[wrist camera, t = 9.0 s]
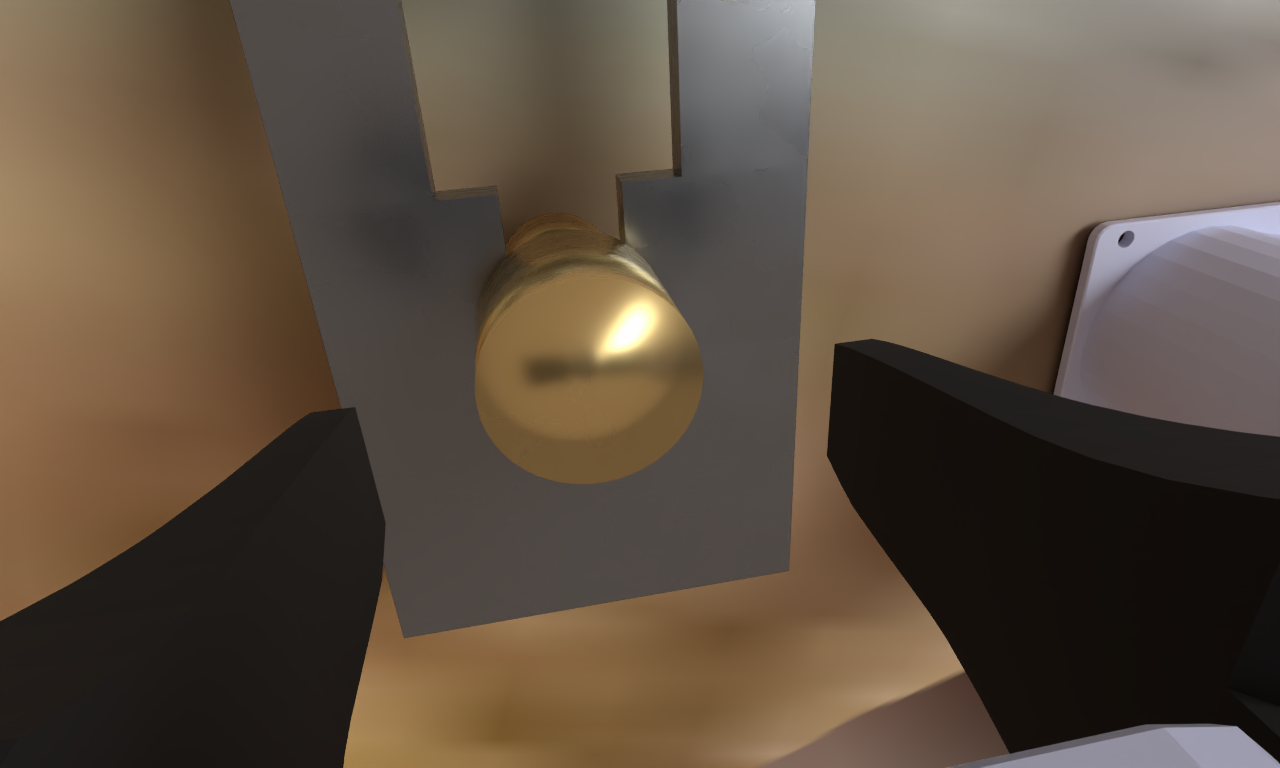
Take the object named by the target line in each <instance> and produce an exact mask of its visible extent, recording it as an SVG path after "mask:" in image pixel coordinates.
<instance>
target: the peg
mask: <svg viewBox="0 0 1280 768" xmlns="http://www.w3.org/2000/svg"><path fill="white" fill-rule="evenodd" d="M506 254H507V256H506V257H505V258H504V259H503V260H502V261H501V262H500V263H499V264H498V265H497V267H496V268H495V269H494V270H493V272H492V273H491V275H490V276H489V278H488V280H487V281H486V284H485V286H484V288H483V290H482V292H481V296H480V299H479V302H478V308H477V315H476V359H475V398H476V405H477V410H478V413H479V416H480V419H481V422H482V424H483V426H484V428H485V430H486V432H487V434H488V436H489V437H490V439H491V440H492V442H493V443H494V444H495V445H496V447H497V448H498V449H499V450H500V451H501V452H502V453H503V454H504V455H505V456H506V457H507V458H509V459H510V460H511V461H512V462H513V463H515V464H516V465H518V466H519V467H521V468H523V469H524V470H526V471H528V472H530V473H532V474H534V475H536V476H539V477H542V478H545V479H548V480H552V481H557V482H561V483H570V484H595V483H602V482H608V481H612V480H616V479H620V478H623V477H625V476H628V475H631V474H633V473H635V472H637V471H639V470H641V469H644V468H645V467H647V466H649V465H650V464H652V463H653V462H655V461H656V460H658V459H659V458H660V457H661V456H663V455H664V454H665V453H666V452H668V451H669V450H670V449H671V448H672V447H673V446H674V445H675V444H676V443H677V441H678V440H679V439H680V437H681V436H682V435H683V434H684V432H685V431H686V429H687V428H688V426H689V424H690V423H691V421H692V419H693V417H694V414H695V412H696V410H697V408H698V404H699V401H700V397H701V393H702V386H703V364H702V357H701V353H700V349H699V346H698V343H697V341H696V338H695V336H694V334H693V332H692V330H691V329H690V327H689V325H688V324H687V322H686V321H685V319H684V318H683V316H682V314H681V313H680V311H679V310H678V308H677V307H676V305H675V303H674V302H673V300H672V299H671V297H670V296H669V294H668V293H667V291H666V289H665V288H664V286H663V285H662V283H661V282H660V280H659V278H658V277H657V275H656V274H655V272H654V271H653V269H652V268H651V266H650V265H649V264H648V263H647V261H646V260H645V259H644V258H643V257H642V256H641V255H640V254H639V253H638V252H636V251H635V250H634V249H633V248H631V247H630V246H628V245H627V244H625V243H624V242H622V241H620V240H618V239H616V238H613V237H611V236H608V235H605V234H602V233H600V232H599V230H598V229H597V228H596V227H594V226H593V225H592V224H591V223H589V222H588V221H586V220H584V219H582V218H580V217H577V216H574V215H571V214H566V213H550V214H545V215H541V216H538V217H535V218H533V219H531V220H529V221H528V222H526V223H525V224H523V225H522V226H521V227H520V228H519V229H518V230H517V231H516V232H515V233H514V234H513V235H512V237H511V238H510V240H509V241H508V243H507V246H506Z"/></svg>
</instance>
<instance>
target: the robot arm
mask: <svg viewBox="0 0 1280 768" xmlns="http://www.w3.org/2000/svg"><path fill="white" fill-rule="evenodd" d="M1123 233H1124V237H1123V239H1122V240H1121V241H1120V242H1119V243H1118V240H1119V238H1120V236H1121V235H1122V234H1123ZM827 457H828V459H829V461H830V463H831V465H832V467H833V469H834V471H835V473H836V475H837V477H838V479H839V481H840V483H841V485H842V487H843V489H844V491H845V493H846V495H847V497H848V498H849V500H850V502H851V504H852V506H853V507H854V509H855V510H856V512H857V513H858V514H859V516H860V517H861V519H862V520H863V522H864V523H865V524H866V526H867V527H868V529H869V530H870V531H871V533H872V534H873V536H874V537H875V538H876V540H877V541H878V543H879V544H880V545H881V547H882V548H883V550H884V551H885V552H886V554H887V555H888V556H889V558H890V559H891V561H892V562H893V563H894V565H895V566H896V567H897V569H898V570H899V572H900V573H901V574H902V576H903V577H904V578H905V580H906V581H907V583H908V584H909V585H910V587H911V588H912V589H913V591H914V592H915V593H916V595H917V596H918V598H919V599H920V600H921V602H922V603H923V604H924V606H925V607H926V609H927V610H928V611H929V613H930V614H931V616H932V617H933V619H934V620H935V622H936V623H937V625H938V626H939V628H940V629H941V631H942V632H943V634H944V635H945V637H946V639H947V640H948V642H949V644H950V645H951V647H952V649H953V651H954V653H955V654H956V656H957V658H958V660H959V661H960V663H961V665H962V667H963V668H964V670H965V672H966V674H967V675H968V677H969V679H970V681H971V682H972V684H973V686H974V688H975V689H976V691H977V693H978V694H979V696H980V698H981V700H982V702H983V704H984V706H985V708H986V710H987V711H988V713H989V715H990V717H991V719H992V721H993V723H994V724H995V727H996V728H997V730H998V732H999V734H1000V736H1001V738H1002V740H1003V742H1004V744H1005V745H1006V747H1007V749H1008V751H1009V753H1010V754H1007V755H1002V756H998V757H993V758H989V759H984V760H979V761H975V762H970V763H965V764H961V765H956V766H952V767H948V768H1280V202H1272V203H1264V204H1255V205H1246V206H1238V207H1229V208H1220V209H1212V210H1203V211H1194V212H1185V213H1177V214H1168V215H1159V216H1151V217H1142V218H1133V219H1125V220H1116V221H1107V222H1104V223H1101V224H1099V225H1098V226H1097V227H1095V228H1094V230H1093V231H1092V232H1091V234H1090V236H1089V239H1088V242H1087V247H1086V251H1085V256H1084V260H1083V265H1082V269H1081V274H1080V278H1079V282H1078V287H1077V291H1076V296H1075V300H1074V305H1073V309H1072V314H1071V318H1070V323H1069V327H1068V332H1067V336H1066V340H1065V345H1064V349H1063V354H1062V358H1061V363H1060V367H1059V372H1058V376H1057V381H1056V385H1055V389H1054V394H1050V393H1047V392H1043V391H1040V390H1036V389H1033V388H1029V387H1026V386H1022V385H1019V384H1016V383H1013V382H1010V381H1007V380H1003V379H1000V378H997V377H994V376H991V375H988V374H985V373H982V372H979V371H976V370H973V369H970V368H967V367H964V366H961V365H958V364H955V363H953V362H950V361H947V360H944V359H941V358H938V357H935V356H932V355H929V354H926V353H923V352H920V351H917V350H914V349H910V348H907V347H904V346H901V345H897V344H893V343H890V342H885V341H881V340H875V339H868V340H861V341H853V342H845V343H838V344H835V348H834V362H833V377H832V391H831V406H830V420H829V434H828V449H827ZM385 527H386V522H385V518H384V514H383V511H382V507H381V503H380V499H379V495H378V492H377V488H376V484H375V480H374V476H373V473H372V469H371V465H370V461H369V457H368V453H367V450H366V446H365V442H364V438H363V434H362V431H361V427H360V423H359V419H358V415H357V412H356V408H355V407H351V408H343V409H336V410H328V411H321V412H313V413H310V414H308V415H306V416H305V417H303V418H302V419H300V420H299V421H298V422H296V423H295V424H294V425H292V426H291V427H290V428H288V429H287V430H286V431H285V432H283V433H282V434H281V435H280V436H278V437H277V438H276V439H275V440H273V441H272V442H271V443H270V444H269V445H267V446H266V447H265V448H264V449H262V450H261V451H260V452H259V453H258V454H256V455H255V456H254V457H253V458H251V459H250V460H249V461H248V462H246V463H245V464H244V465H243V466H241V467H240V468H239V469H238V470H237V471H235V472H234V473H233V474H232V475H230V476H229V477H228V478H227V479H225V480H224V481H223V482H222V483H220V484H219V485H218V486H216V487H215V488H214V489H212V490H211V491H210V492H208V493H207V494H206V495H204V496H203V497H202V498H200V499H199V500H197V501H196V502H195V503H193V504H192V505H191V506H189V507H188V508H187V509H185V510H184V511H183V512H181V513H180V514H179V515H177V516H176V517H174V518H173V519H172V520H170V521H169V522H168V523H166V524H165V525H164V526H162V527H161V528H159V529H158V530H156V531H155V532H153V533H152V534H151V535H149V536H148V537H146V538H145V539H143V540H142V541H140V542H139V543H137V544H135V545H134V546H132V547H131V548H129V549H128V550H126V551H125V552H123V553H121V554H120V555H118V556H117V557H115V558H113V559H112V560H110V561H108V562H107V563H105V564H103V565H102V566H100V567H99V568H97V569H95V570H94V571H92V572H90V573H89V574H87V575H85V576H84V577H82V578H80V579H79V580H77V581H75V582H73V583H72V584H70V585H68V586H66V587H64V588H63V589H61V590H59V591H57V592H55V593H53V594H51V595H49V596H47V597H46V598H44V599H42V600H40V601H38V602H36V603H34V604H32V605H30V606H29V607H27V608H25V609H23V610H21V611H19V612H17V613H15V614H14V615H12V616H10V617H8V618H6V619H4V620H2V621H0V768H343V764H344V756H345V749H346V744H347V738H348V732H349V727H350V721H351V716H352V712H353V708H354V703H355V699H356V694H357V690H358V686H359V681H360V677H361V672H362V668H363V664H364V659H365V655H366V650H367V646H368V642H369V637H370V633H371V628H372V624H373V619H374V615H375V610H376V606H377V601H378V596H379V592H380V587H381V582H382V570H383V559H384V544H385Z"/></svg>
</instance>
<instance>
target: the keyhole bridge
mask: <svg viewBox="0 0 1280 768" xmlns="http://www.w3.org/2000/svg"><path fill="white" fill-rule="evenodd" d="M230 4H231V7H232V11H233V15H234V18H235V22H236V26H237V29H238V33H239V37H240V40H241V44H242V48H243V51H244V55H245V59H246V62H247V66H248V70H249V73H250V77H251V80H252V84H253V88H254V91H255V95H256V99H257V102H258V106H259V110H260V113H261V117H262V121H263V124H264V128H265V132H266V135H267V139H268V143H269V146H270V150H271V154H272V157H273V161H274V165H275V168H276V172H277V176H278V179H279V183H280V187H281V190H282V194H283V198H284V201H285V205H286V209H287V212H288V216H289V219H290V223H291V227H292V230H293V234H294V238H295V241H296V245H297V249H298V252H299V256H300V260H301V263H302V267H303V271H304V274H305V278H306V282H307V285H308V289H309V293H310V296H311V300H312V304H313V307H314V311H315V315H316V318H317V322H318V326H319V329H320V333H321V337H322V340H323V344H324V347H325V351H326V355H327V358H328V362H329V366H330V369H331V373H332V377H333V380H334V384H335V388H336V391H337V395H338V399H339V402H340V406H341V409H343V408H351V407H355V408H356V412H357V415H358V419H359V423H360V427H361V431H362V434H363V438H364V442H365V446H366V450H367V453H368V457H369V461H370V465H371V469H372V473H373V476H374V480H375V484H376V488H377V492H378V495H379V499H380V503H381V507H382V511H383V514H384V518H385V522H386V527H385V544H384V559H383V563H384V567H385V571H386V574H387V578H388V582H389V585H390V589H391V593H392V596H393V600H394V604H395V607H396V611H397V615H398V618H399V622H400V625H401V629H402V633H403V636H404V638H408V637H414V636H419V635H425V634H431V633H437V632H442V631H448V630H454V629H459V628H465V627H471V626H477V625H482V624H488V623H494V622H499V621H505V620H511V619H517V618H522V617H528V616H534V615H539V614H545V613H551V612H556V611H562V610H568V609H574V608H579V607H585V606H591V605H596V604H602V603H608V602H614V601H619V600H625V599H631V598H636V597H642V596H648V595H654V594H659V593H665V592H671V591H676V590H682V589H688V588H693V587H699V586H705V585H711V584H716V583H722V582H728V581H733V580H739V579H745V578H751V577H756V576H762V575H768V574H773V573H779V572H785V571H789V559H790V538H791V516H792V494H793V473H794V451H795V429H796V407H797V386H798V364H799V342H800V321H801V299H802V277H803V256H804V234H805V212H806V191H807V169H808V147H809V126H810V104H811V82H812V60H813V39H814V17H815V0H667V12H668V41H669V70H670V98H671V127H672V156H673V169H666V170H655V171H645V172H634V173H624V174H616V189H617V203H618V218H619V232H620V241H622V242H624V243H625V244H627V245H628V246H630V247H631V248H633V249H634V250H635V251H636V252H638V253H639V254H640V255H641V256H642V257H643V258H644V259H645V260H646V261H647V263H648V264H649V265H650V266H651V268H652V269H653V271H654V272H655V274H656V275H657V277H658V278H659V280H660V282H661V283H662V285H663V286H664V288H665V289H666V291H667V293H668V294H669V296H670V297H671V299H672V300H673V302H674V303H675V305H676V307H677V308H678V310H679V311H680V313H681V314H682V316H683V318H684V319H685V321H686V322H687V324H688V325H689V327H690V329H691V330H692V332H693V334H694V336H695V338H696V341H697V343H698V346H699V349H700V353H701V357H702V364H703V386H702V393H701V397H700V401H699V404H698V408H697V410H696V412H695V414H694V417H693V419H692V421H691V423H690V424H689V426H688V428H687V429H686V431H685V432H684V434H683V435H682V436H681V437H680V439H679V440H678V441H677V443H676V444H675V445H674V446H673V447H672V448H671V449H670V450H669V451H668V452H666V453H665V454H664V455H663V456H661V457H660V458H659V459H658V460H656V461H655V462H653V463H652V464H650V465H649V466H647V467H645V468H644V469H641V470H639V471H637V472H635V473H633V474H631V475H628V476H625V477H623V478H620V479H616V480H612V481H608V482H602V483H595V484H570V483H561V482H557V481H552V480H548V479H545V478H542V477H539V476H536V475H534V474H532V473H530V472H528V471H526V470H524V469H523V468H521V467H519V466H518V465H516V464H515V463H513V462H512V461H511V460H510V459H509V458H507V457H506V456H505V455H504V454H503V453H502V452H501V451H500V450H499V449H498V448H497V447H496V445H495V444H494V443H493V442H492V440H491V439H490V437H489V436H488V434H487V432H486V430H485V428H484V426H483V424H482V422H481V419H480V416H479V413H478V410H477V405H476V398H475V359H476V315H477V308H478V302H479V299H480V296H481V292H482V290H483V288H484V286H485V284H486V281H487V280H488V278H489V276H490V275H491V273H492V272H493V270H494V269H495V268H496V267H497V265H498V264H499V263H500V262H501V261H502V260H503V259H504V258H505V257H506V256H507V254H506V247H505V240H504V233H503V226H502V219H501V212H500V205H499V198H498V191H497V186H488V187H478V188H467V189H457V190H447V191H436V192H435V186H434V181H433V175H432V170H431V164H430V159H429V153H428V147H427V142H426V136H425V131H424V125H423V120H422V114H421V109H420V103H419V97H418V92H417V86H416V81H415V75H414V70H413V64H412V59H411V53H410V47H409V42H408V36H407V31H406V25H405V20H404V14H403V8H402V3H401V0H230Z"/></svg>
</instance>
